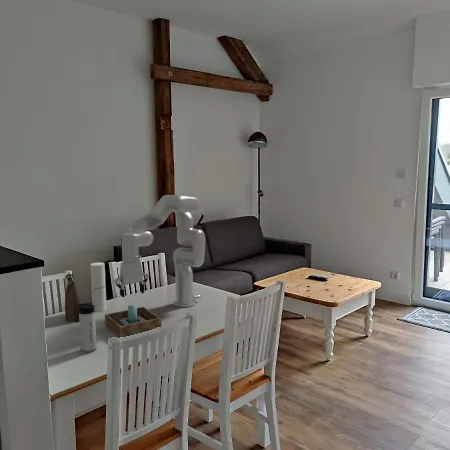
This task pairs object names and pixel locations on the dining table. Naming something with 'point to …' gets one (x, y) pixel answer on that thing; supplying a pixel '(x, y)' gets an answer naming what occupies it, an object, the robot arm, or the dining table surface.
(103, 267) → the cylindrical container
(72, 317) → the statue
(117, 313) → the box
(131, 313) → the peg
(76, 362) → the dining table surface
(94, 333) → the travel mug
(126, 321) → the bore plate
